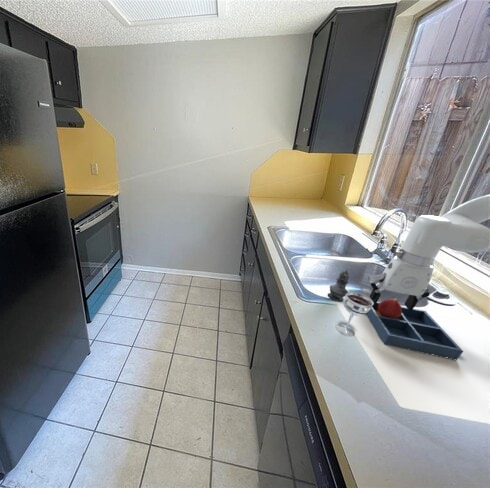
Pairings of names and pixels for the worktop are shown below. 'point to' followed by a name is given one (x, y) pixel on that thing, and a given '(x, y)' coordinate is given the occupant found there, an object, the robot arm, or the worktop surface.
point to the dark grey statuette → (339, 287)
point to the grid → (414, 332)
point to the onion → (390, 308)
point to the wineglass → (354, 309)
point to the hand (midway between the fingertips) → (390, 304)
